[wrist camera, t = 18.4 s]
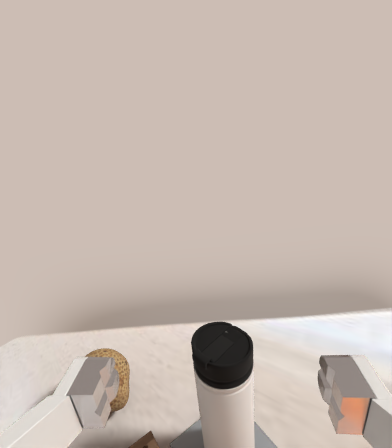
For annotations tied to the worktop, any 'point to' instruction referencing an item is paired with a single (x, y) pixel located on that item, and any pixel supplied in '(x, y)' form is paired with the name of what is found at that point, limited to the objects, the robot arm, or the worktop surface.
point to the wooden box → (146, 442)
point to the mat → (193, 442)
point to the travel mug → (224, 385)
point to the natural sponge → (123, 372)
